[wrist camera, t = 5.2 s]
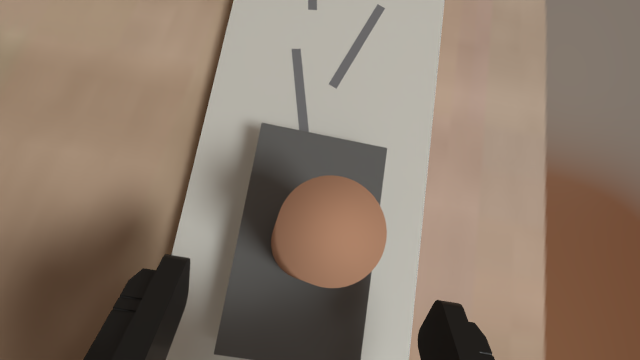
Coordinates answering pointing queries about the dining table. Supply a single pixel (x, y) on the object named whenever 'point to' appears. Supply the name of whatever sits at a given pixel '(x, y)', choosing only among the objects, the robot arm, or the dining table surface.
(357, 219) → the sanding block
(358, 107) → the marked board
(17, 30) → the dining table surface
